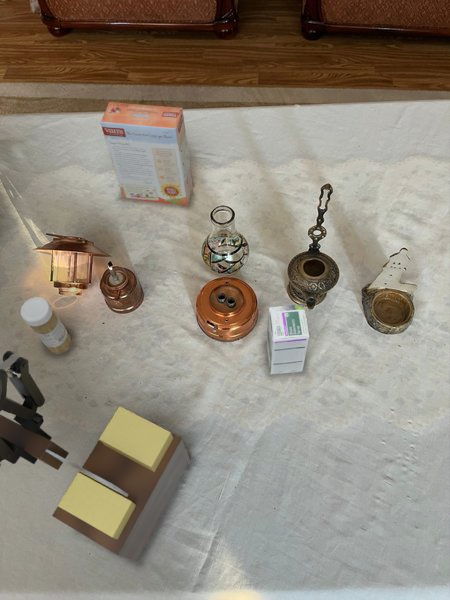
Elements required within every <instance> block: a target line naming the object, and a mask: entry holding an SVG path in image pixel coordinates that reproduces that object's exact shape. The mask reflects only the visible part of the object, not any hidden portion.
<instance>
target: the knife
mask: <svg viewBox="0 0 450 600" xmlns="http://www.w3.org/2000/svg"><path fill="white" fill-rule="evenodd" d="M0 437H2V438H4V439H6V440H8V441H9V442H11V443H13V444H15V445H16V446H18V447H20V448H21V449H23V450H24V451H26V452H27V453H29V454H30V455H32V456H33V457H35V458H37V461H40V462H42V463H44V464H46V465H48V466H49V467H51V468H53V469H55V470H57V471H58V470H60V468H61V466H62V465H63V464H65V465H67V466H69V467H70V468H73V469H74V470H76V471H78V472H79V471H80V472H82V473H84V474H85V475H87V476H89V477H91V478H93V479H95V480H97V481H98V482H100V483H102V484H104V485H106V486H108V487H110V488H112V489H113V490H115V491H117V492H119V493H121V494H123V495H125V496H126V497H128V495H129V494H127V493H126V492H124V491H123V490H121V489H120V488H118V487H117V486H115V485H114V484H112V483H110V482H108V481H106V480H104V479H102V478H100V477H99V476H97V475H95V474H93V473H91V472H89V471H87V470H85V469H83V468H82V467H83V466H80V465H78V464H76V463H74V462H72V461H70V460H68V459H66V458H67V457H68V456H69V451H67V450H66V449H64V448H63V447H61V446H60V445H59V444H57V443H55V442H54V441H52V439H51V440H49V439H47V438H45V437H43V436H41V435H39V434H37V433H35V432H33V431H31V430H29V429H27V428H25V427H23V426H22V425H20V424H19V423H18V422H16V421H15V420H12V419H10V418H8V417H6V416H4V415H2V414H0Z"/></svg>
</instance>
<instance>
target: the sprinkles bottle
mask: <svg viewBox="0 0 450 600" xmlns="http://www.w3.org/2000/svg"><path fill="white" fill-rule="evenodd" d="M20 316H21V318H22V319H23V321H24V322H25V324H27V325H28V326H29V327H30V328H31V329H32V330H33V332H34V333H35V335H36V336H37V337H38V338H39V339H40V341H41V342H42V343H43V344H44V345H45V347H46V348H47V349H48V351H50V352H51V353H52V354H56V355H59V354H62V353H65V352H66V351H67V350H68V349H70V346H72V339H73V338H72V337H71V335H70V334H69V332H68V330H67V329H66V327H65V326H64V324H63V323H62V321H61V319H59V317H58V316H57V315H56V313H55V311H53V307H52V306H51V304H50V303H49V301H48V300H47V299H46V298H44V297H41V296H34V297H33V296H32V297H31V298H29V299H26V300H25V301H24V303H22V305H21V307H20Z"/></svg>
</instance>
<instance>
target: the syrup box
mask: <svg viewBox="0 0 450 600" xmlns="http://www.w3.org/2000/svg"><path fill="white" fill-rule="evenodd" d="M309 341H310V330H309V326H308V319H307V312H306V307H305V304H304V303H303V304H287V305H285V304H284V305H279V306H271V307H268V315H267V334H266V352H267V358H268V366H269V374H271V375H278V374H289V373H300V372H301V373H302V372H303V370H304V366H305V362H306V357H307V352H308V346H309Z"/></svg>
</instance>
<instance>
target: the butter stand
mask: <svg viewBox="0 0 450 600" xmlns="http://www.w3.org/2000/svg"><path fill="white" fill-rule="evenodd" d="M171 434H172V436H173V440H172V442H171V444H170V446H169V447H168V449H167V451H166V453H165V455H164V456H163V458H162V460H161V462H160V464H159V465H158V467H157V469H156V471H155V472H153V471H151V470H150V469H148V468H146V467H144V466H142V465H140V464H138V463H137V462H135V461H133V460H131V459H129V458H127V457H126V456H124V455H122V454H120V453H118V452H116V451H114V450H113V449H111V448H109V447H107V446H105V445H104V444H103V443H102V442H101V441H100V440H99V439H98V441H97V443H96V444H95V446H94V447H93V449H92V450H91V452H90V454H89V455H88V456H87V459H86V460H85V461H84V464H83V465H82V466H81V467H82V468H83V469H85V470H87V471H89V472H91V473H93V474H95V475H97V476H99V477H100V478H102V479H104V480H106V481H108V482H110V483H112V484H114V485H115V486H117V487H118V488H120V489H121V490H123V491H124V492H126V493H127V494H129V495H128V497H126V496H125V495H123V494H121V493H119V492H117V491H115V490H113V489H112V488H110V487H108V486H106V485H104V484H102V483H100V482H98V481H97V480H95V479H93V478H91V477H89V476H87V475H85V474H84V473H82V472H80V471H78V472H79V473H81V474H83V475H85V476H87V477H88V478H90V479H92V480H94V481H96V482H97V483H99V484H101V485H103V486H105V487H107V488H108V489H110V490H112V491H114V492H116V493H117V494H119V495H121V496H123V497H125V498H127V499H128V500H130V501H132V502H133V503H134V504H135V505H136V507H135V509H134V511H133V512H132V514H131V516H130V518H129V520H128V522H127V523H126V525H125V527H124V529H123V531H122V533H121V534H120V536H119V538H118V540H117V539H115V538H112V537H111V536H109V535H107V534H105V533H104V532H102V531H100V530H98V529H97V528H95V527H93V526H92V525H90V524H88V523H86V522H85V521H83V520H81V519H79V518H78V517H76V516H74V515H72V514H71V513H69V512H67V511H66V510H64V509H62V508H60V507H59V506H58V505H57V507H56V508H55V510H54V511H53V513H52V515H51V517H53V518H55V519H56V520H58V521H60V522H61V523H63V524H65V525H66V526H68V527H70V528H71V529H73V530H75V531H77V532H78V533H80V534H81V535H83V536H84V537H86V538H87V539H90V540H91V541H93V542H94V543H97V544H98V545H100V546H101V547H103V548H105V549H106V550H108V551H110V552H111V553H113V554H114V555H116V556H118V557H121V558H124V559H128V560H130V561H133V562H139V559H140V558H141V556H142V555H143V552H144V550H145V548H146V546H147V544H148V543H149V541H150V539H151V537H152V536H153V533H154V531H155V529H156V528H157V526H158V524H159V522H160V520H161V519H162V516H163V514H164V512H165V510H166V509H167V507H168V505H169V503H170V501H171V500H172V497H173V496H174V494H175V492H176V490H177V488H178V486H179V484H180V482H181V480H182V479H183V476H184V475H185V473H186V471H187V469H188V467H189V465H190V464H191V461H192V460H191V458H190V455H189V453H188V451H187V447H186V445H185V443H184V440H183V438H182V437H180V436H179V435H176V434H174V433H172V432H171Z"/></svg>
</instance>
